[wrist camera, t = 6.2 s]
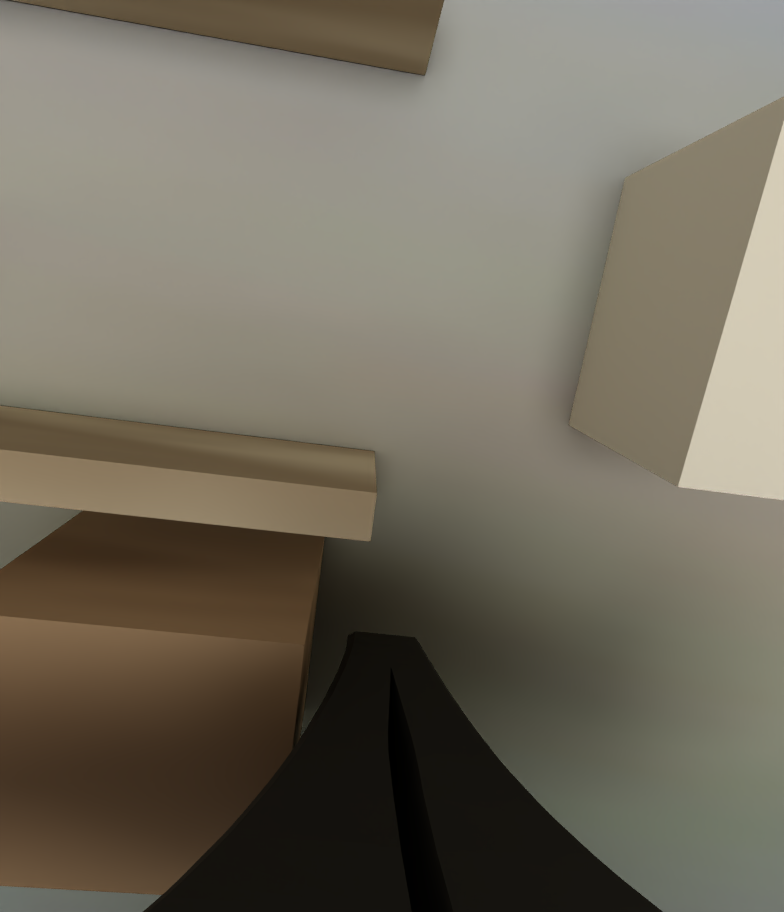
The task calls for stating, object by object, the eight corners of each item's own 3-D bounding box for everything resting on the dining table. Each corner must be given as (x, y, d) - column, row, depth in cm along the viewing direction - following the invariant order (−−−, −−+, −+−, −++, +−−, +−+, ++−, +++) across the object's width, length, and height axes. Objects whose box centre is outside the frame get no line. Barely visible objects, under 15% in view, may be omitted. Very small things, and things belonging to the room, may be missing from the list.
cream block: (776, 452, 11) (992, 526, 7) (566, 423, 11) (678, 487, 7) (853, 219, 10) (1159, 161, 6) (622, 179, 10) (792, 92, 6)
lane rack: (329, 783, 13) (318, 924, 10) (-127, 751, 12) (-286, 894, 9) (432, 19, 9) (465, -125, 6) (-236, -108, 8) (-579, -346, 5)
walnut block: (303, 712, 12) (274, 901, 8) (95, 695, 12) (-36, 883, 8) (325, 526, 11) (304, 644, 7) (96, 501, 11) (-57, 610, 7)
